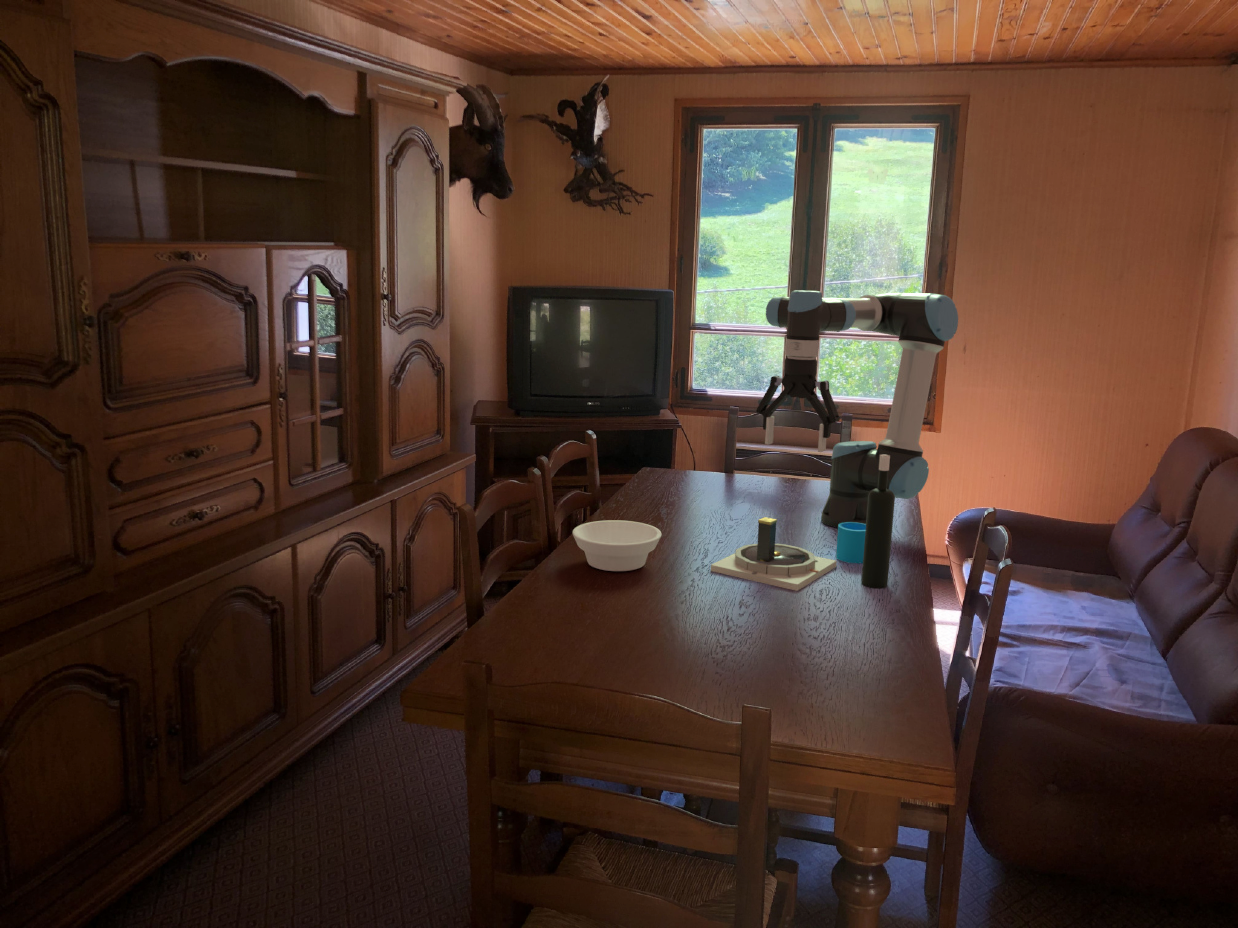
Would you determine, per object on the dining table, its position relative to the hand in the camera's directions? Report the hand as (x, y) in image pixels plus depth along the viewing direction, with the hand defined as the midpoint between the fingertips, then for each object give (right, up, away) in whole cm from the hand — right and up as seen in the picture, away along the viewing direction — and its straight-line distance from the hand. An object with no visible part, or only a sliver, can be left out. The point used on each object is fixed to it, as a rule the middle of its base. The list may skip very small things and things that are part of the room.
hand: (794, 447), depth 227 cm
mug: (+17, -27, +12) cm, 34 cm away
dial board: (-5, -29, 0) cm, 29 cm away
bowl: (-42, -28, +1) cm, 51 cm away
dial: (-5, -27, 0) cm, 27 cm away
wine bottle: (+16, -31, -9) cm, 37 cm away
